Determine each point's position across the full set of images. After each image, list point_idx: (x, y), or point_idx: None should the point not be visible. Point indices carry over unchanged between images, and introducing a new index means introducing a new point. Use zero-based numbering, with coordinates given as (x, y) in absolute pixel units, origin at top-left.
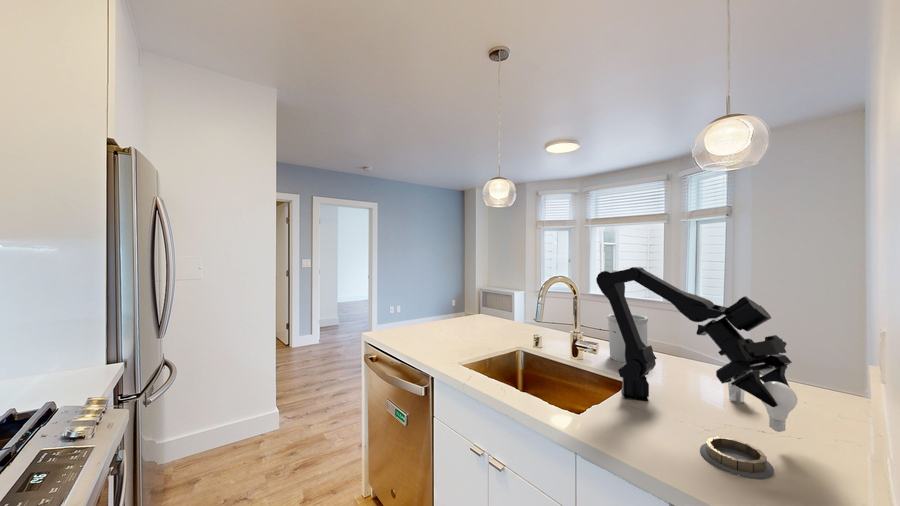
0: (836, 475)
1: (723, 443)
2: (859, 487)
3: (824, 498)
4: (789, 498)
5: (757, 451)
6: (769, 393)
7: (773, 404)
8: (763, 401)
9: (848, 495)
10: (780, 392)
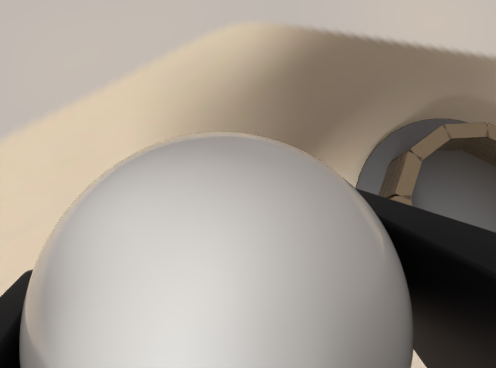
0: (181, 105)
1: None
2: (180, 49)
3: (340, 32)
4: (433, 47)
5: (412, 188)
6: (419, 230)
7: None
8: None
9: (258, 30)
10: (329, 173)
